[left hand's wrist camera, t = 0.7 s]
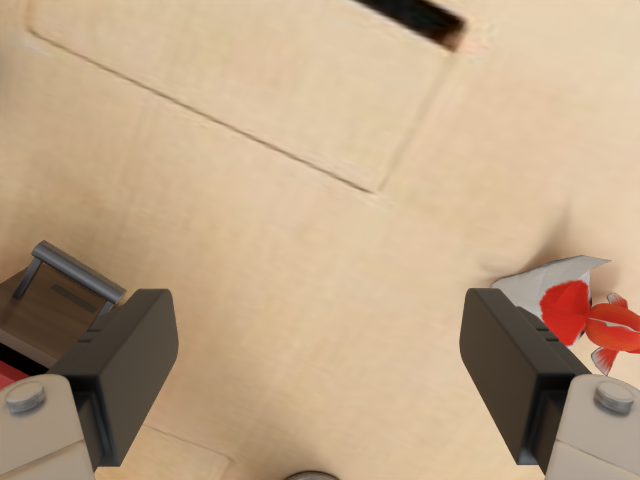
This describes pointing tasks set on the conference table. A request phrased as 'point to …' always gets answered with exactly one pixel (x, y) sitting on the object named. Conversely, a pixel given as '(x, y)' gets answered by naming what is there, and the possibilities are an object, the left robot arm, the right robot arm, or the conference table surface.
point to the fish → (575, 307)
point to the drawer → (50, 309)
